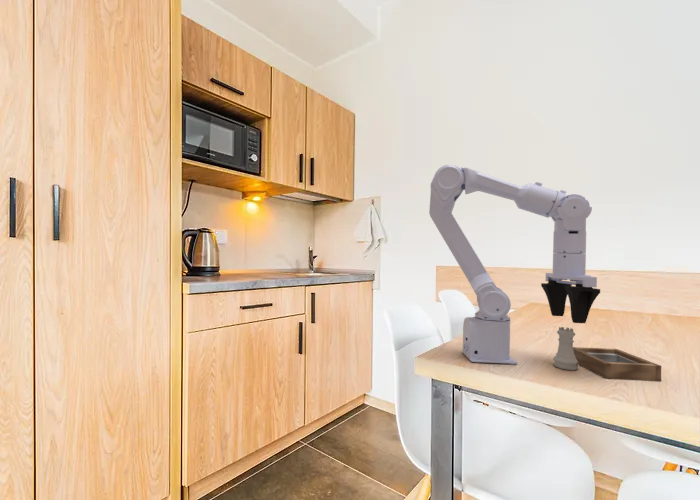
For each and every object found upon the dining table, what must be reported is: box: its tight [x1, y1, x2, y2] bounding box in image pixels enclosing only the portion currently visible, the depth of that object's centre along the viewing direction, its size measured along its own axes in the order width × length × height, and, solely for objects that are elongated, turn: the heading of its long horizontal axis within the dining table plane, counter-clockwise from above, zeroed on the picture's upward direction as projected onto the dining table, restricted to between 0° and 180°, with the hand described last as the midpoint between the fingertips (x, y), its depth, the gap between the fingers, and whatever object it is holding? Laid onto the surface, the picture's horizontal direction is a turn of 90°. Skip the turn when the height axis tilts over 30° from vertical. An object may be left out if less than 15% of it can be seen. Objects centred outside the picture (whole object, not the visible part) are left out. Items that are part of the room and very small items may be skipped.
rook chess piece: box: [552, 326, 579, 371], centre depth 70 cm, size 4×4×8 cm
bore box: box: [573, 346, 662, 382], centre depth 69 cm, size 10×12×3 cm
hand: (567, 319), depth 70 cm, fingers open, 7 cm apart
